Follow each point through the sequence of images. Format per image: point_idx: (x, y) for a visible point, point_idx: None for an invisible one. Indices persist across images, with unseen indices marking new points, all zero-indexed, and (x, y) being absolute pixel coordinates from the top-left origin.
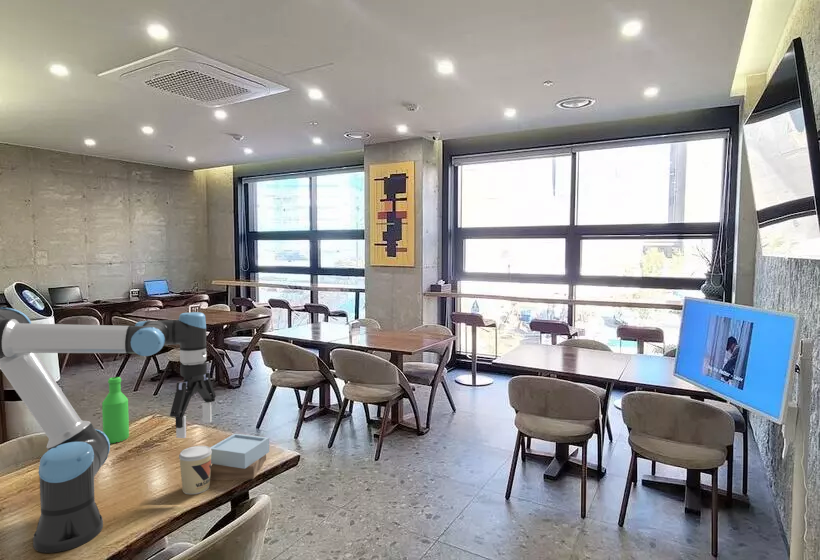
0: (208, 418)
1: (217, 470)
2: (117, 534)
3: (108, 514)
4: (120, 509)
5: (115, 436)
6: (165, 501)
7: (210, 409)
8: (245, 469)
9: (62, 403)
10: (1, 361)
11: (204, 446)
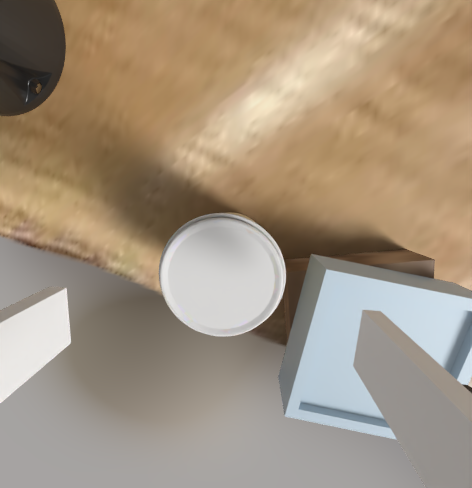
0: (368, 375)
1: (286, 288)
2: (9, 181)
3: (73, 91)
4: (101, 106)
5: None
6: (157, 202)
7: (420, 468)
8: None
9: None
10: None
11: (275, 291)
